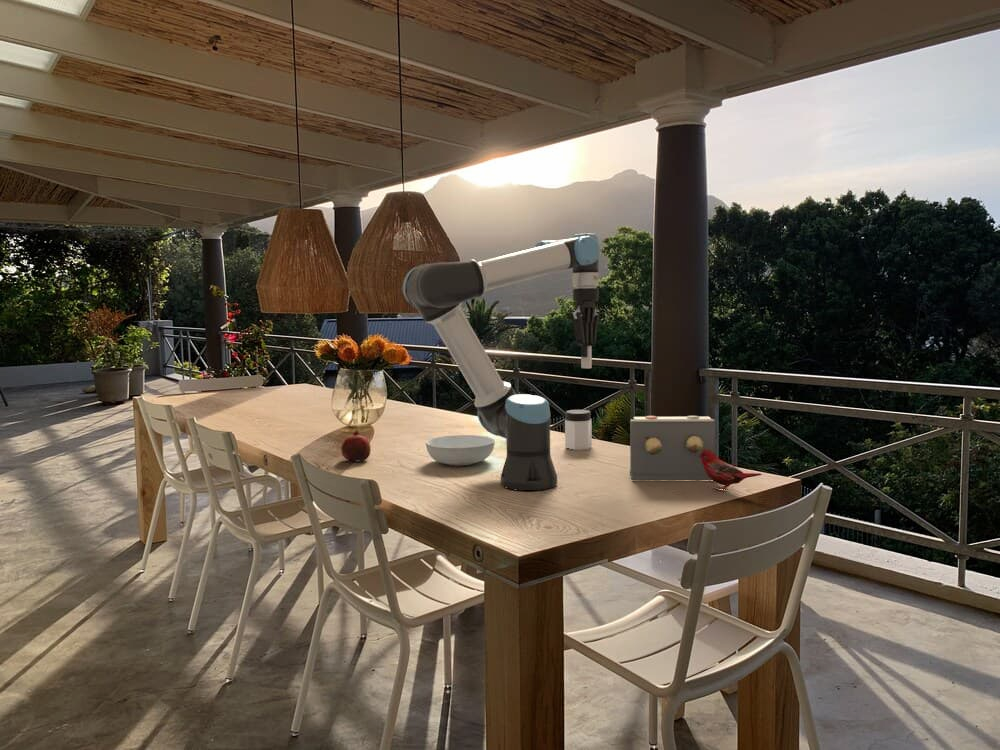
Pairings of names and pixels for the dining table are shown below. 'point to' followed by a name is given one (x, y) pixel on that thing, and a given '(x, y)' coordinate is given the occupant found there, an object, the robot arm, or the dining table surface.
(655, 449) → the brass knob
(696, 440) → the knob
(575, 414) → the jar
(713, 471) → the decorative bird figurine
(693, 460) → the console
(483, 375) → the robot arm
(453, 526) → the dining table surface
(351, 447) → the fruit
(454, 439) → the serving bowl
